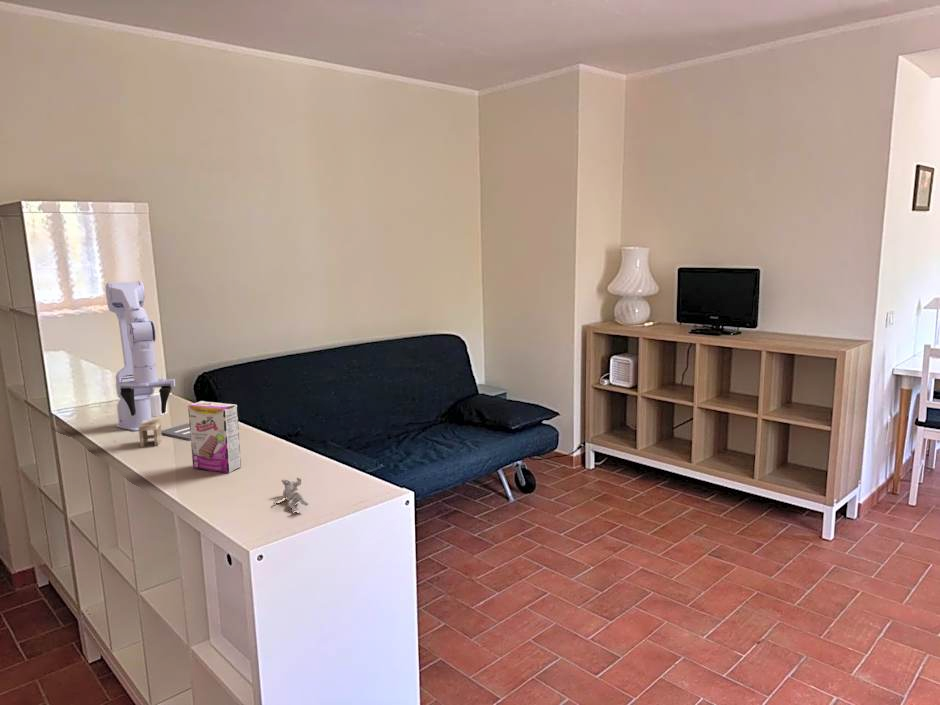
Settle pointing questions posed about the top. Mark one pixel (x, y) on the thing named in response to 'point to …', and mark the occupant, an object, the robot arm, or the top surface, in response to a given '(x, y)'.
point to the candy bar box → (214, 436)
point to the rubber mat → (178, 432)
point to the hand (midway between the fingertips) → (148, 413)
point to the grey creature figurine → (292, 493)
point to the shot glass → (156, 404)
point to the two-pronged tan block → (150, 425)
